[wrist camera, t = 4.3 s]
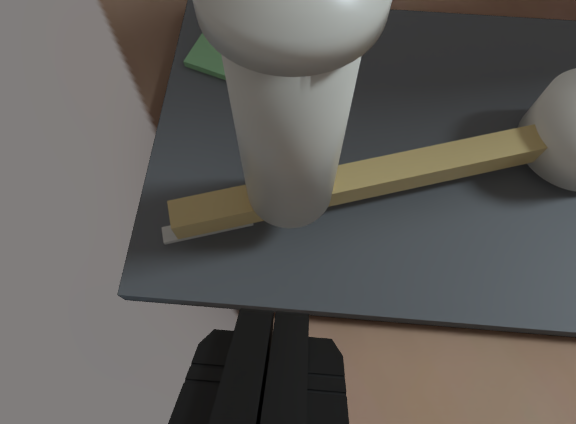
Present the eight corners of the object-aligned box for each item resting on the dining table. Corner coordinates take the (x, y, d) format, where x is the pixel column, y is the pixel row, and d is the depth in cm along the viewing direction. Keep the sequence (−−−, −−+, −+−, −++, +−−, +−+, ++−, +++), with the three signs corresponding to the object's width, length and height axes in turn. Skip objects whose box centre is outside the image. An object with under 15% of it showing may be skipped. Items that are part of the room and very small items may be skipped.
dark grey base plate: (191, 11, 21) (187, -9, 20) (571, 34, 21) (586, 15, 20) (125, 300, 16) (113, 292, 15) (644, 343, 15) (670, 338, 14)
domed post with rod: (591, 94, 18) (884, -206, 9) (645, 179, 16) (1063, -82, 7) (170, 179, 16) (34, -84, 7) (186, 283, 15) (36, 105, 6)
